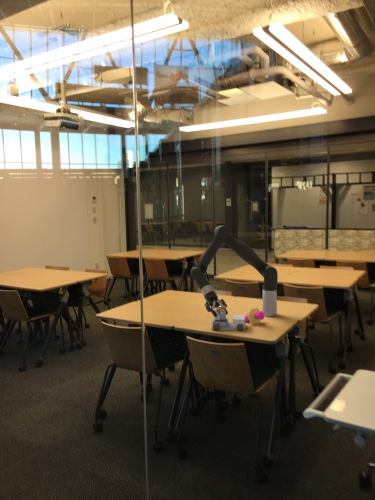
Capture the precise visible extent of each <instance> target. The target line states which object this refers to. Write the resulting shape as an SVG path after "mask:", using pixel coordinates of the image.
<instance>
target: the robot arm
mask: <svg viewBox="0 0 375 500" xmlns="http://www.w3.org/2000/svg"><path fill="white" fill-rule="evenodd" d="M213 234H214V238H213V239H212V241H211V242H210V245H209V246H208V247H207V248H206V249H205V250H204V252H203V254H202V255H201V256H200V258H199V259H198V266H193V267H192V268H191V269H190V276H191V278H192V279H193V281H194V282H195V283H196V285H197V286H198V288H199V290H200V292H201V294H202V297H203V298H204V300H205V301H206V302H205V303H204V306H205V309H206V311H207V312H208V313H211V314H212V315H213V318H215V317H217V314H216V312H215V310H216V309H217V308H223V309H225V311H226V316H227V315H228V314H229V311H228V309H227V307H228V305H227V303H226V301H225V300H224V299H223V298H221V299H219V297H218V295H217V293H216V291H215V290H214V288H213V287H212V284H211V283H210V282H209V280H208V279H207V277H205V275H206V274H207V271H208V267H209V266H210V264H211V262H212V260H213V259H214V258H215V255H216V254H217V253H218V251H219V249H220V248H221V246H222V245H223V244H225V245H226V246H228V248H229V249H231V251H233V252H234V253H235V254H236V255H237V256H238V257H239V258H240V259H241V260H242V261H244V262H245V263H247V264H248V265H250V266H251V267H252V268H254V269H255V270H256V271H257V272H258V273H259V274H260V275H261V277H262V278H263V284H262V288H261V289H262V292H261V293H262V297H261V299H262V310H261V311H262V312H263V313H264V314H265V316H264V317H277V316H278V312H277V311H278V305H277V303H278V302H277V287H278V279H279V276H278V270H277V269H276V267H274V266H272V265H269V264H268V263H267V262H266V261H264V260H263V259H262V258H260V256H259V254H257V253H256V251H255V250H254V249H253V248H252V247H250V246H249V245H248V244H247V243H245V242H244V241H241V240H240V239H238V238H237V237H235V236H234V235H233V234H232V233H231V228H230V227H229V226H227V225H225V224H224V225H223V224H222V225H218V226H216V227H215V228H214V230H213Z"/></svg>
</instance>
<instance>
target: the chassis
mask: <svg viewBox="0 0 375 500" xmlns="http://www.w3.org/2000/svg"><path fill="white" fill-rule="evenodd" d="M245 315H246V314H233V315H232V321H231V322H229V317H228V318H227V317H226V322H215V317H213V319H212V325H211V331H216V332H217V331H232V332H233V331H238V332H243V331H244V332H245V331H246V321H245Z"/></svg>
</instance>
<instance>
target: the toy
mask: <svg viewBox="0 0 375 500" xmlns="http://www.w3.org/2000/svg"><path fill="white" fill-rule="evenodd" d="M262 311H263V310H261V311H260V310H259V308H258V307H256V308H250V310H249V312H248V313H247V314H244V315H245V323H247V322H249V323H250V325H257V324H260V321H261V320H264V319H265V317H266V316H265V314H264V313H263V312H262Z"/></svg>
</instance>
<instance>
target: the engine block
mask: <svg viewBox="0 0 375 500" xmlns="http://www.w3.org/2000/svg"><path fill="white" fill-rule="evenodd" d="M214 310H215V312H216V314H217V317H214V318H215V322H226V318H227V315H226V311H225V309H223V308H215V309H214Z"/></svg>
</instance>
